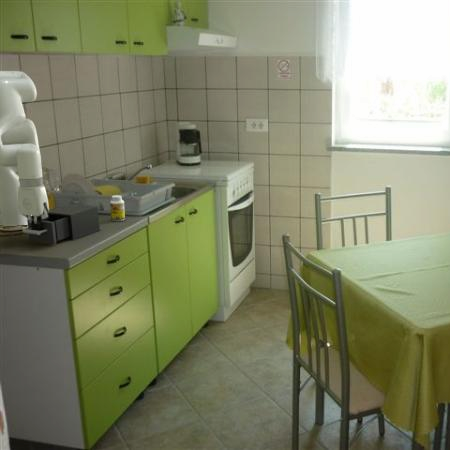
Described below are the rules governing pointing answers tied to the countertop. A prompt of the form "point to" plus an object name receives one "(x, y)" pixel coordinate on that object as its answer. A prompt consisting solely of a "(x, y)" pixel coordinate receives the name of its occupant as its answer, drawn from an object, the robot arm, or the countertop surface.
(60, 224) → the drawer
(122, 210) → the supplement bottle
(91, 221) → the dark grey box
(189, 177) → the countertop surface
